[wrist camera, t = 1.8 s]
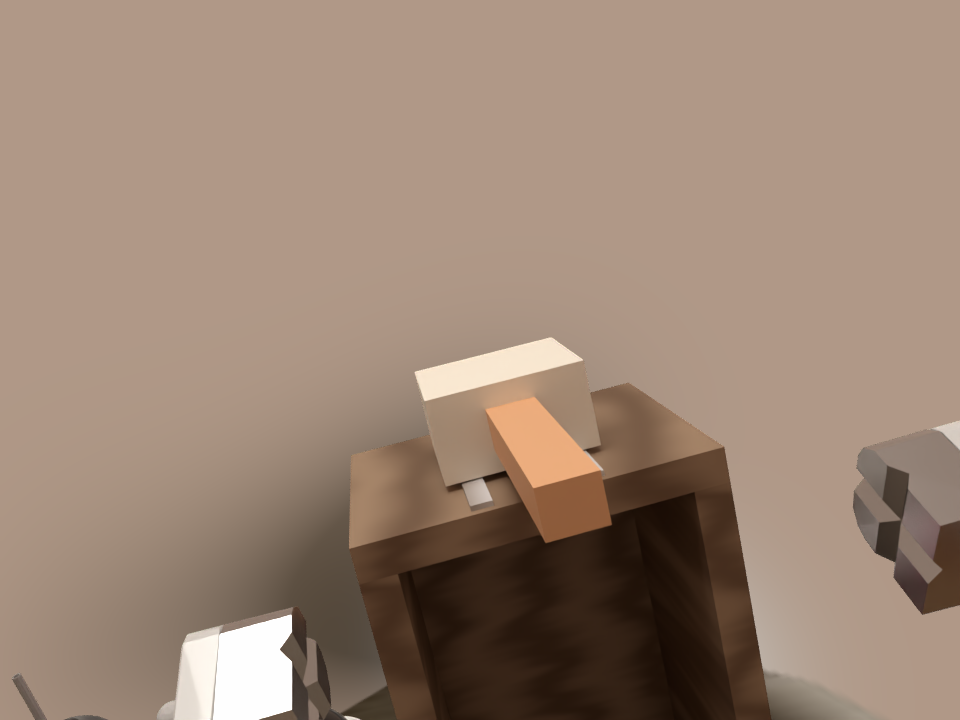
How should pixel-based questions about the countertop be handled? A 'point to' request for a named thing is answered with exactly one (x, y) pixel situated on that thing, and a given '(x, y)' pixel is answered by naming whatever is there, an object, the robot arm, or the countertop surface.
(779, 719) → the countertop surface
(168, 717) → the pepper mill
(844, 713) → the countertop surface
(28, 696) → the beverage cup
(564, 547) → the walnut stand
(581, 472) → the cream block mallet
